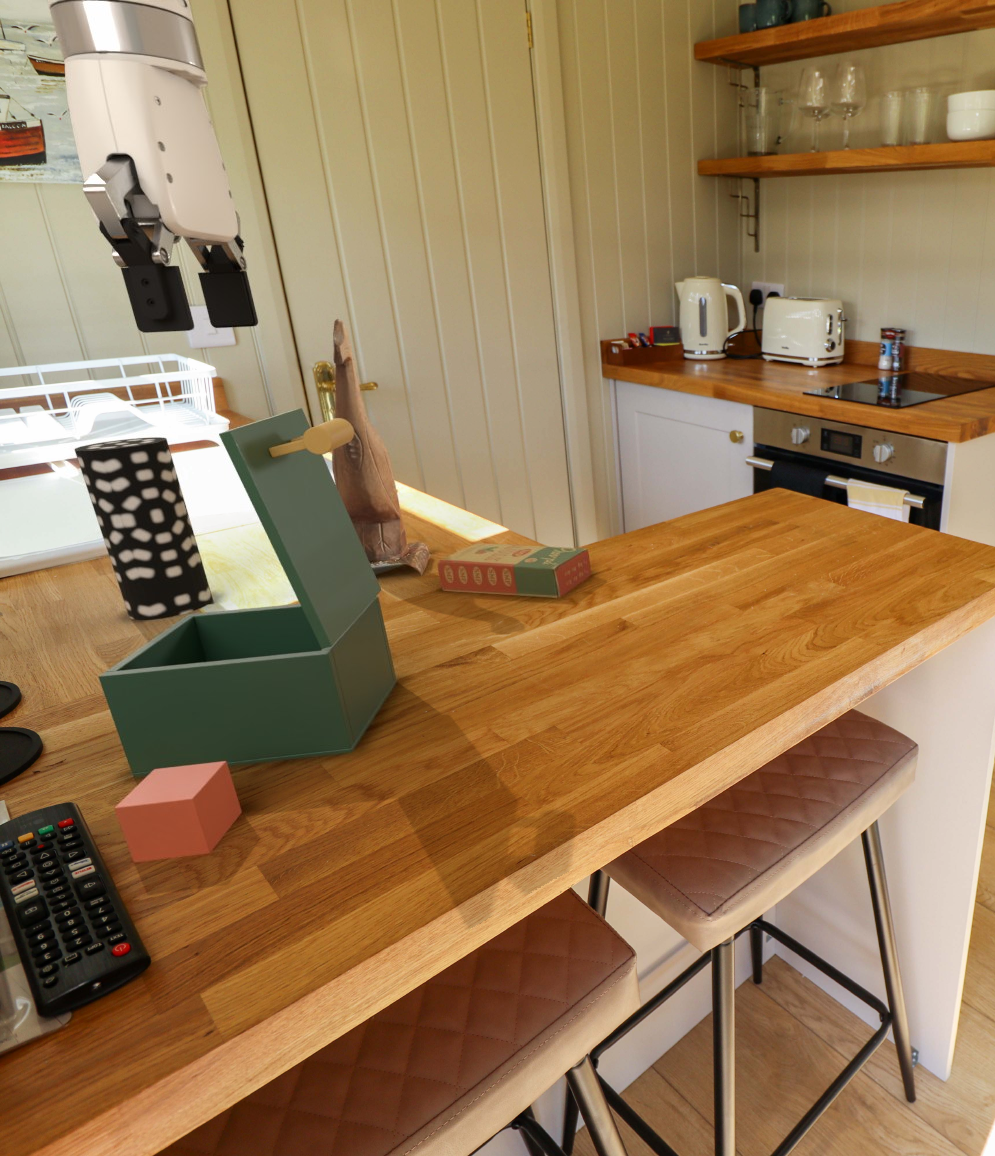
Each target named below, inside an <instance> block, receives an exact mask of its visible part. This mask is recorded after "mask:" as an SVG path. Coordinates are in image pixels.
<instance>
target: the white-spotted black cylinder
mask: <svg viewBox="0 0 995 1156" xmlns="http://www.w3.org/2000/svg"><path fill="white" fill-rule="evenodd" d="M74 452H75V456H76V458H77V462H78V465H79V468H80V471H81V474H82V478H83V480H84V483H85V486H86V489H87V493H88V495H89V498H90V502H91V505H92V508H93V511H94V514H95V516H96V520H97V523H98V526H99V529H100V532H101V535H102V538H103V541H104V544H105V547H106V550H107V553H108V556H109V560H110V563H111V565H112V569H113V571H114V575H115V578H116V581H117V584H118V587H119V591H120V593H121V597H122V599H123V603H124V605H125V609H126V612H127V615H128V617H129V618H130V619H132V620H135V621H154V620H163V619H168V618H173V617H177V616H181V615H185V614H190V613H191V612H195V611H196V610H197V611H198V610H200V609H202V608H204V607H206V606H208V605H214V599H213V594H212V591H211V588H210V584H209V581H208V578H207V574H206V571H205V570H206V569H205V567H204V564H203V560H202V557H201V554H200V550H199V546H198V543H197V540H196V535H195V532H194V529H193V526H192V522H191V519H190V516H189V512H188V508H187V505H186V501H185V497H184V494H183V491H182V487H181V484H180V481H179V477H178V473H177V470H176V466H175V463H174V460H173V457H172V456H173V455H172V453H171V449H170V446H169V441H168V439H167V437H156V436H154V437H137V438H127V439H126V438H125V439H118V440H111V441H110V440H109V441H103V442H97V443H91V444H86V445H82V446H78V447H75V448H74Z"/></svg>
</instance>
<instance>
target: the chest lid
mask: <svg viewBox="0 0 995 1156" xmlns="http://www.w3.org/2000/svg"><path fill="white" fill-rule="evenodd" d="M218 436H219V438H220V440H221V442H222V444H223V446H224V448H225V451H226V452H227V455H228V456H229V458H230V461H231V463H232V465H233V467H234V470H235V471H236V474H237V475H238V477H239V480H240V482H241V484H242V486H243V488H244V490H245V492H246V494H247V496H248V498H249V501H250V502H251V505H252V507H253V509H254V511H255V513H256V515H257V517H258V519H259V522H260V523H261V525H262V528H263V530H264V533H265V534H266V537H267V538H268V540H269V542H270V544H271V547H272V549H273V551H274V553H275V554H276V558H277V559H278V561H279V563H280V566H281V567H282V569H283V571H284V573H285V576H286V578H287V580H288V582H289V584H290V586H291V589H292V591H293V592H294V595H295V596H296V599H297V600H298V604H300V605H301V607H302V609H303V611H304V613H305V615H306V617H307V619H308V622H309V624H310V626H311V628H312V630H313V632H314V634H315V636H316V638H317V640H318V642H319V645H320V647H321V648H322V649H324V648H327V647H331V646H332V645H333V644H334V643H335V642H336V641H337V640H338V639H339V638H340V636H341V635H342V634H343V633H344V632H345V631H346V630H347V628H348V627H349V626H350V625H351V624H352V623H353V622H354V621H355V619H356V618H357V617H358V616H359V615H360V614H361V613H362V612H363V610H364V609H365V608H366V607H367V606H368V605H369V604H370V603H371V601H372V600H373V599H374V598H375V597H378V595H379V594H380V593H381V592H382V587H381V585H380V583H379V581H378V579H377V576H376V574H375V572H374V569H373V566H371V565H370V562H369V560H368V558H367V555H366V553H365V551H364V549H363V546H362V544H361V542H360V539H359V537H358V535H357V533H356V530H355V528H354V526H353V523H352V521H351V519H350V517H349V514H348V512H347V510H346V508H345V505H344V503H343V501H342V498H341V496H340V494H339V492H338V489H337V487H336V485H335V480H334V477H333V476H332V474H331V471H330V469H329V467H328V464H327V462H326V460H325V458H324V455H326V454H328V453H331V451H332V450H334V449H336V448H338V447H340V446H342V445H344V444H346V443H348V442H350V441H351V440H352V439H353V437H354V429H353V426H352V425H351V424H350V423H349V422H348V421H347V420H345V419H342V418H336V419H335V418H332V419H330V420H327V421H325V422H323V423H320V424H317V425H314V426H313V427H311V426H310V423H309V421H308V419H307V416H306V414H305V412H304V410H303V408H302V407H299V408H296V409H292V410H289V411H285V412H282V413H279V414H276V415H273V416H270V417H267V418H262V419H260V420H256V421H254V422H251V423H248V424H244V425H242V426H238V427H234V428H231V429H228V430H225V431H221V432H220V433H219V434H218Z"/></svg>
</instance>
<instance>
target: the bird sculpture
mask: <svg viewBox="0 0 995 1156" xmlns="http://www.w3.org/2000/svg"><path fill="white" fill-rule="evenodd" d="M332 336H333V342H332V343H333V345H332V347H333V354H332V355H333V357H332V358H333V363H334V364H335V368H334V369H335V370H334V371H335V374H334V419H336V418H342V419H345V420H347V421H348V422H349V423H350V424H351V425H352V426H353V429H354V437H353V439H352V440H351V441H350V442H348V443H346V444H344V445H342V446H340V447H338V448H336V449H334V450H332V452H331V466H332V469H331V470H332V474H333V480H334V482H335V485H336V487H337V489H338V492H339V494H340V496H341V498H342V501H343V503H344V505H345V508H346V510H347V512H348V514H349V517H350V519H351V521H352V523H353V526H354V528H355V530H356V533H357V535H358V537H359V539H360V542H361V544H362V546H363V549H364V551H365V553H366V555H367V558H368V560H369V562H370V565H371V567H378V566H380V565H396V564H403V565H404V564H405V565H406V566H409V567H411V568H413V569H414V570H416V571H417V572H418V573H419V574H420V575H421V576H423V574H424V572H425V571H426V568H427V565H428V563H429V560H430V556H431V555H430V550H429V548H428V546H427V545H426V544H425V543H424V542H421V541H417V542H408V541H407V536H406V535H407V534H406V530H405V526H404V521H403V517H402V512H401V507H400V500H399V495H398V491H397V487H396V482H395V478H394V472H393V468H392V463H391V460H390V455H389V451H388V449H387V447H386V445H385V443H384V440H382V438H381V436H380V435H379V433H378V432H377V430H376V429H375V426H374V425H373V424H372V422H371V421H370V420H369V418H368V415H367V412H366V408H365V404H364V401H363V396H362V393H361V392H362V391H361V387H360V383H359V380H358V376H357V371H356V366H355V362H354V357H353V351H352V346H351V342H350V338H349V334H348V328H347V326H346V324H345V323H344V322H343V320H341V319H340V318H337V319H335V320H334V322H333V332H332Z"/></svg>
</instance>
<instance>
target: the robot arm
mask: <svg viewBox="0 0 995 1156" xmlns="http://www.w3.org/2000/svg"><path fill="white" fill-rule="evenodd" d="M46 2H47V5H48V8H49V13H50V17H51V20H52V23H53V27H54V30H55V35H56V39H57V41H58V45H59V49H60V53H61V55H62V59H63V60H62V61H63V63H64V76H65V79H64V80H65V88H66V97H67V106H68V111H69V112H68V113H69V116H70V123H71V129H72V134H73V138H74V142H75V148H76V152H77V157H78V162H79V166H80V170H81V175H82V180H83V182H84V183H83V184H82V191H83V194H84V196H85V198H86V200H87V201H88V203H89V206H90V211H91V213H92V216H93V220H94V222H95V224H96V225H97V227H98V228H99V229H98V230H99V232H100V233H101V234H102V235H103V237H104V238H105V240H106V241H107V242H108V243H109V244H110V246H111V247H112V249H111V256H112V259H113V262H114V263H115V264H116V266H118V267H119V268H120V270H121V274H122V278H123V281H124V284H125V289H126V292H127V294H128V299H129V302H130V303H129V304H130V306H131V309H132V313H133V317H134V320H135V324H136V327H137V329H138V330H139V332H141V333H144V334H146V333H147V334H148V333H168V332H171V333H172V332H189V331H192V330H193V329H194V328H195V322H194V319H193V315H192V311H191V306H190V303H189V299H188V295H187V292H186V287H185V284H184V280H183V275H182V272H181V267H180V265H170V264H171V259H172V254H173V247H174V245H176V244H178V243H180V241H181V240H182V237H183V239H184V241H185V242H186V245H187V246H188V247H189V249H190V251H191V252H192V254H193V255H194V257H195V258H196V260H197V262H198V263H199V265H200V266H201V268H202V270H203V271H204V272H203V271H202V272H201V271H200V272H197V275H198V279H199V283H200V287H201V291H202V295H203V299H204V303H205V307H206V311H207V315H208V319H209V322H210V325H211V326H212V327H213V328H215V329H225V328H226V329H228V328H230V329H231V328H246V327H248V328H249V327H250V328H251V327H252V328H253V327H257V326H258V324H259V319H258V314H257V310H256V306H255V302H254V297H253V294H252V288H251V286H250V279H249V276H248V272H247V271H248V262H247V260H246V257H245V256H244V248H245V245H244V244H245V242H244V240H243V238H242V236H241V217H240V215H239V213H238V212H237V210H236V207H235V203H234V198H233V194H232V190H231V186H230V182H229V177H228V174H227V171H226V167H225V164H224V160H223V157H222V153H221V149H220V146H219V143H218V140H217V137H216V134H215V133H216V132H215V130H214V126H213V124H212V120H211V118H210V114H209V111H208V108H207V106H206V102H205V100H204V96H203V93H202V91H201V89H204V88H205V87H207V86H208V85H209V81H208V76H207V73H206V68H205V64H204V59H203V56H202V51H201V47H200V43H199V38H198V34H197V29H196V26H195V21H194V17H193V12H192V8H191V3H190V0H46ZM208 246H210V250H209V249H208Z"/></svg>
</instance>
